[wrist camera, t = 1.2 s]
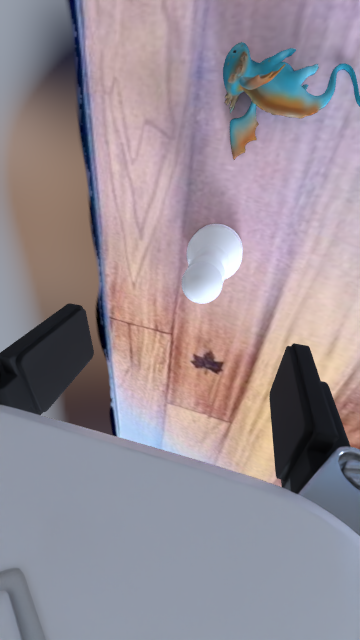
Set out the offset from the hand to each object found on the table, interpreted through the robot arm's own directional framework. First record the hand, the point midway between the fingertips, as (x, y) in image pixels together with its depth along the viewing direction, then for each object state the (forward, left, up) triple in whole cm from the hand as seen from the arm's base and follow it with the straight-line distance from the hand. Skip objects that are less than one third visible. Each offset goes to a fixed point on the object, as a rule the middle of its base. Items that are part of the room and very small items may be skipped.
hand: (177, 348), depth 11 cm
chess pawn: (0, 0, -15) cm, 15 cm away
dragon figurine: (-11, +3, -15) cm, 19 cm away
